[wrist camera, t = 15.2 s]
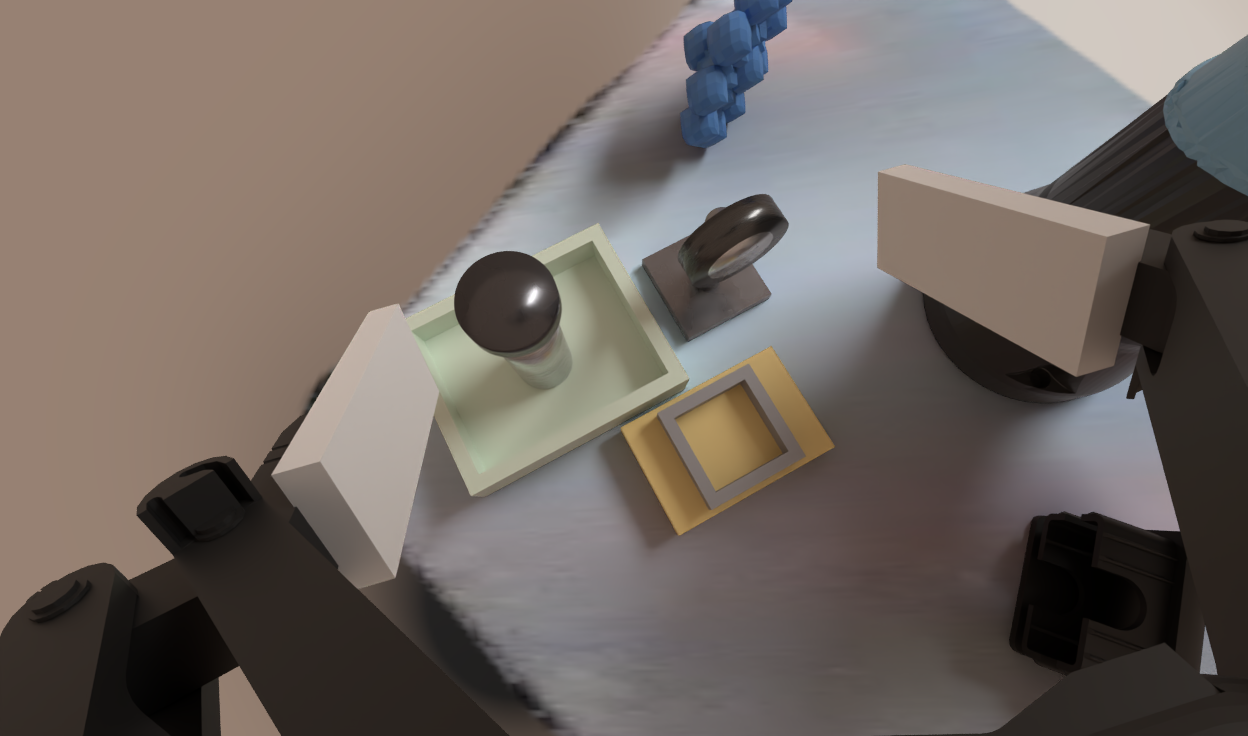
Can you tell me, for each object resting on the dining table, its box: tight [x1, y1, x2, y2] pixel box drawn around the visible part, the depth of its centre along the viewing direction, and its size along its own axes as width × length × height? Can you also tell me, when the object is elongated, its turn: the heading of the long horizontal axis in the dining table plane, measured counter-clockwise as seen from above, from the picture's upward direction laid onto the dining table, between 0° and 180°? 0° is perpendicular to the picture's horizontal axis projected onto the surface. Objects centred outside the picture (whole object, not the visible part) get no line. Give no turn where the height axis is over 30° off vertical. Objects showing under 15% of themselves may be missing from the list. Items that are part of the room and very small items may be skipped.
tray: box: [406, 223, 689, 497], centre depth 39 cm, size 16×13×4 cm
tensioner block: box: [621, 346, 835, 536], centre depth 38 cm, size 12×8×4 cm, turn 118°
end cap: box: [1009, 511, 1205, 676], centre depth 33 cm, size 10×7×7 cm
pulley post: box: [642, 194, 788, 341], centre depth 37 cm, size 7×7×12 cm
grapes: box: [680, 0, 792, 148], centre depth 40 cm, size 12×7×12 cm, turn 146°
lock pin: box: [454, 251, 573, 389], centre depth 34 cm, size 5×5×13 cm
